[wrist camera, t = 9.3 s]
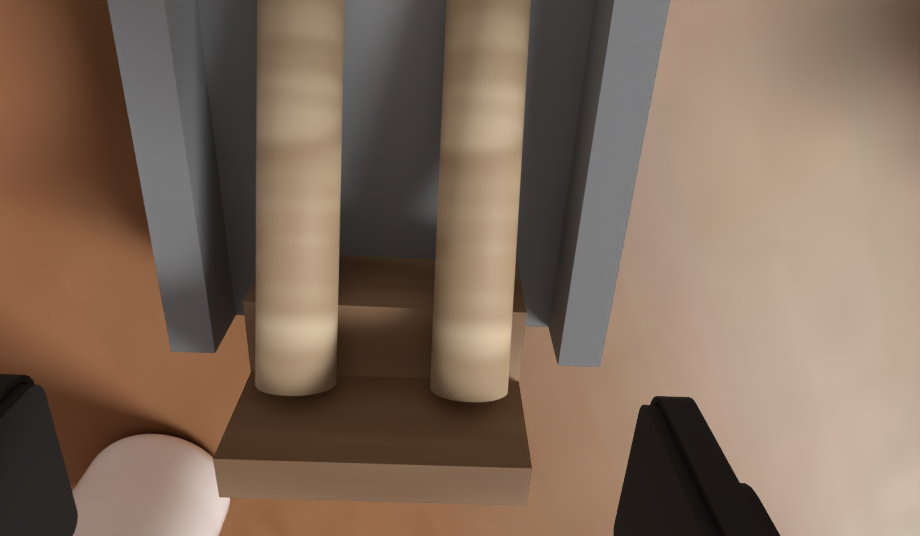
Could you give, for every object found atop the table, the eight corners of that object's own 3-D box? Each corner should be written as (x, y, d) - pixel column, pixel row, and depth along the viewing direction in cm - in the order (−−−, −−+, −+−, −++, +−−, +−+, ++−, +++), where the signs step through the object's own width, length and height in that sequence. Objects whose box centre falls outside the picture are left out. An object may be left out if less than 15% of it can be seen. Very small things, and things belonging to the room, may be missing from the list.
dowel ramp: (502, 323, 23) (526, 506, 16) (291, 315, 22) (219, 497, 15) (547, -120, 16) (621, -151, 9) (257, -138, 16) (109, -186, 9)
